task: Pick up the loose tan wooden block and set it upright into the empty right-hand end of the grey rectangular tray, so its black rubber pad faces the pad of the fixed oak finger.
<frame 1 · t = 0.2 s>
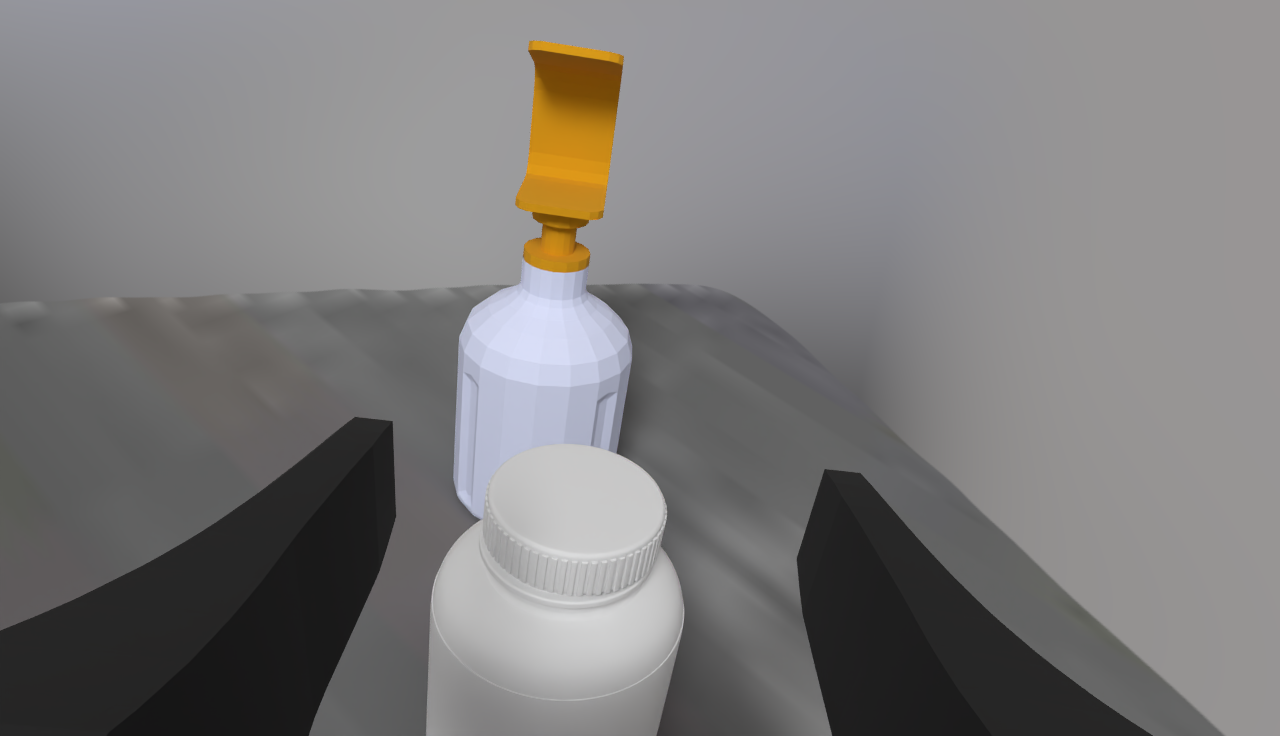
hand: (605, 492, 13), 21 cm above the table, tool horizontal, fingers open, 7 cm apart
soap bottle: (532, 489, 47), on the table
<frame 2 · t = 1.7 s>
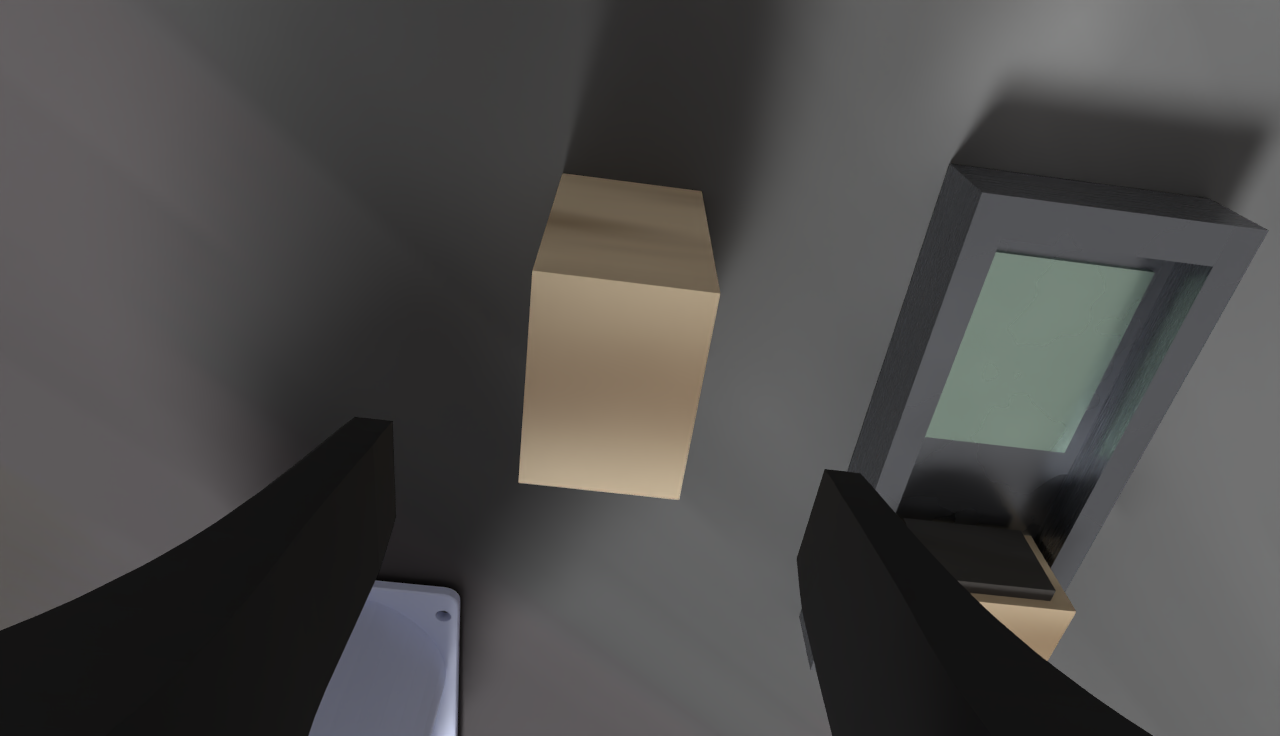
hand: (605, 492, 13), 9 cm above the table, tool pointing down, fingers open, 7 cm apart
tan wooden block: (620, 273, 21), on the table
grey rectangular tray: (971, 441, 24), on the table
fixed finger: (971, 441, 24), resting on grey rectangular tray
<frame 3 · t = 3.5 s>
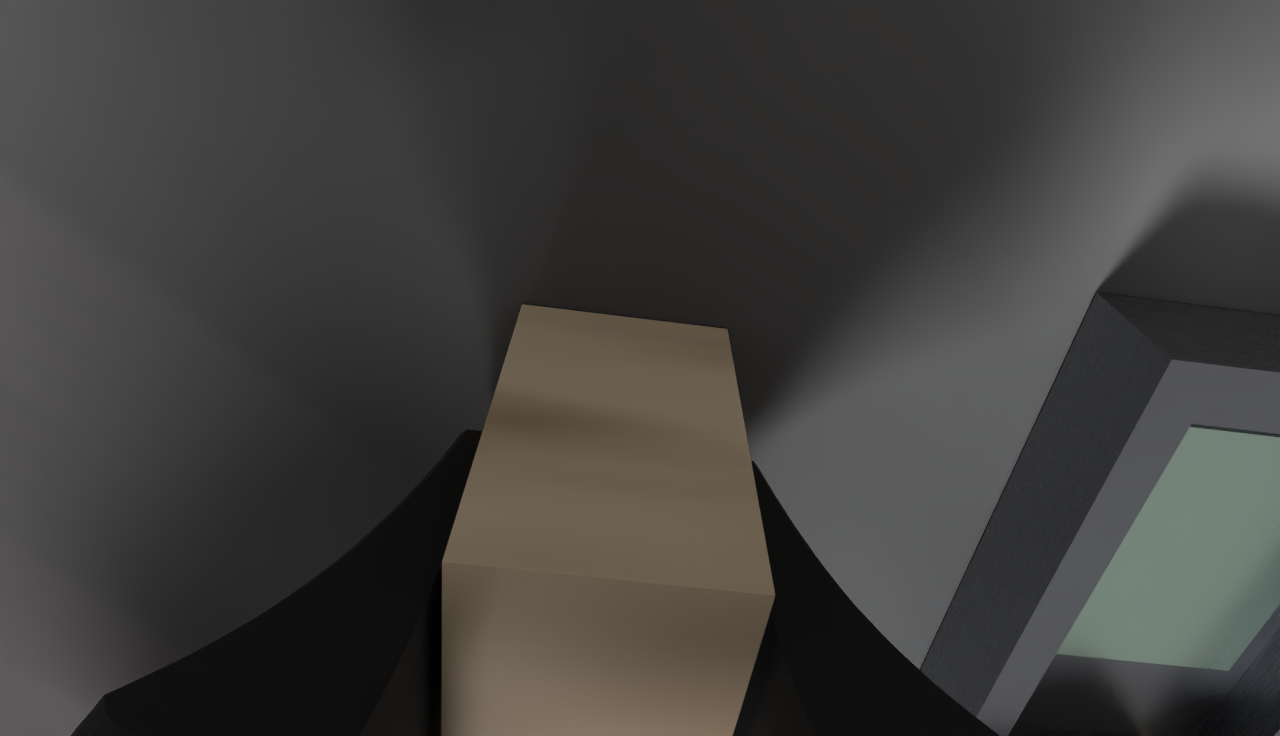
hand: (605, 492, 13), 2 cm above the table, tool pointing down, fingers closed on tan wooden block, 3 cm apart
tan wooden block: (609, 436, 15), on the table, touching gripper
grey rectangular tray: (1089, 640, 17), on the table
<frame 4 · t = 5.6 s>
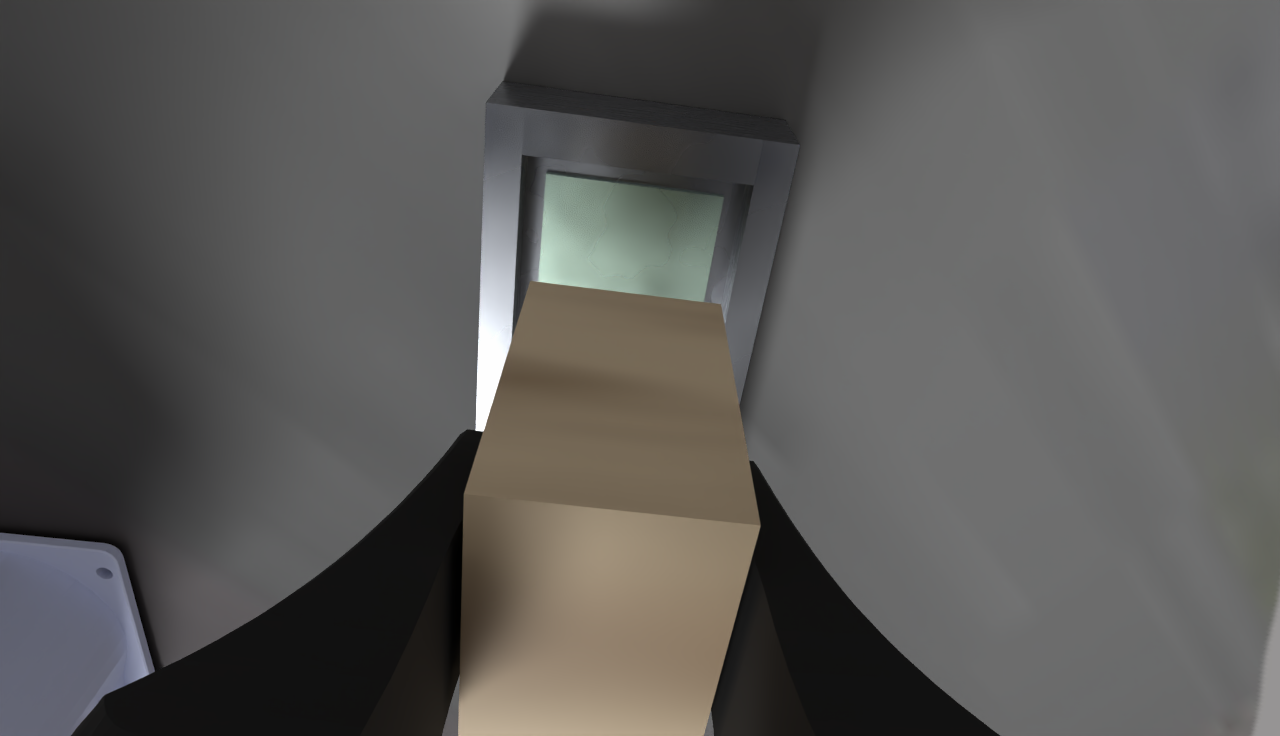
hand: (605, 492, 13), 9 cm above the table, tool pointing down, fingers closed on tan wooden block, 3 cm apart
tan wooden block: (611, 406, 16), point 6 cm above the table, touching gripper
grey rectangular tray: (608, 386, 23), on the table
when the fingers open (3 cm above the table, at t = 7.7 s): tan wooden block stays where it is, resting on grey rectangular tray.
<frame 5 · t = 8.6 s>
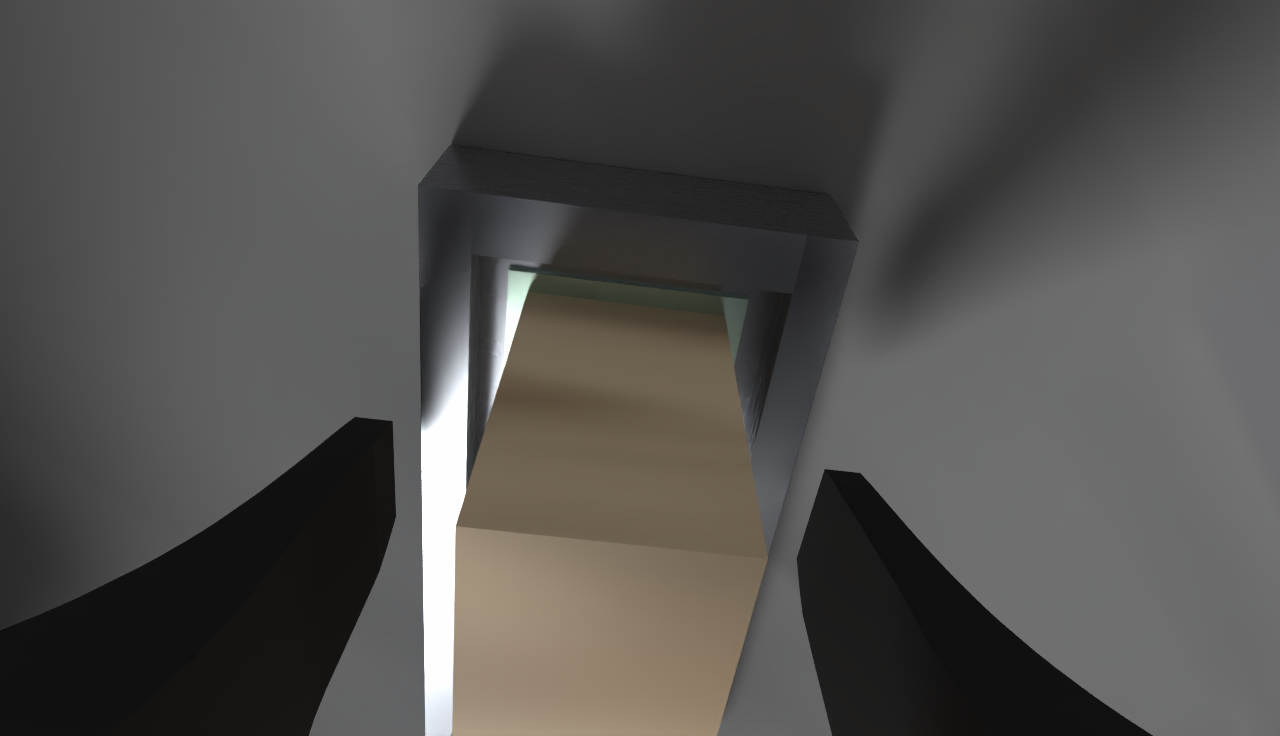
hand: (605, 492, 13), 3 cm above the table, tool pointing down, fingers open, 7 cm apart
tan wooden block: (611, 420, 15), point 1 cm above the table, touching grey rectangular tray
grey rectangular tray: (596, 516, 18), on the table
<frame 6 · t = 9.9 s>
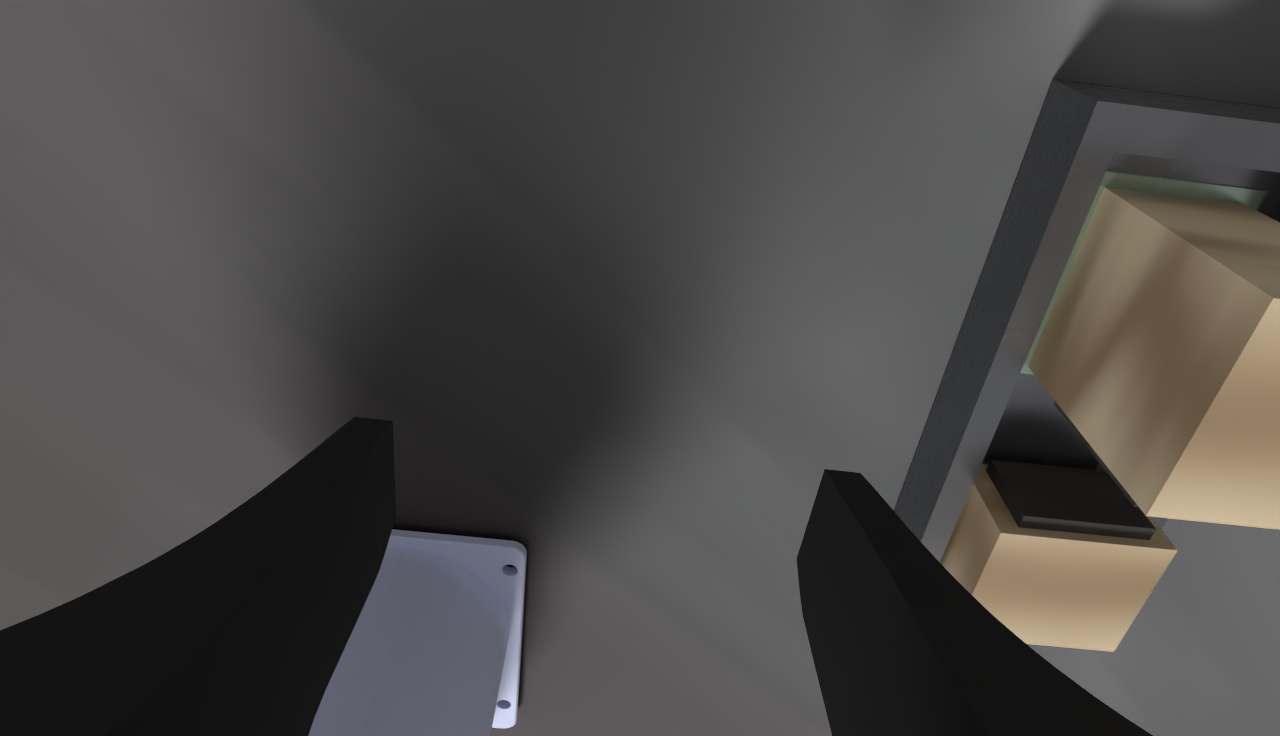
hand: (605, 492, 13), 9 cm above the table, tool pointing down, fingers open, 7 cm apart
tan wooden block: (1130, 290, 20), point 1 cm above the table, touching grey rectangular tray
grey rectangular tray: (1059, 380, 23), on the table
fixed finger: (1059, 380, 23), resting on grey rectangular tray
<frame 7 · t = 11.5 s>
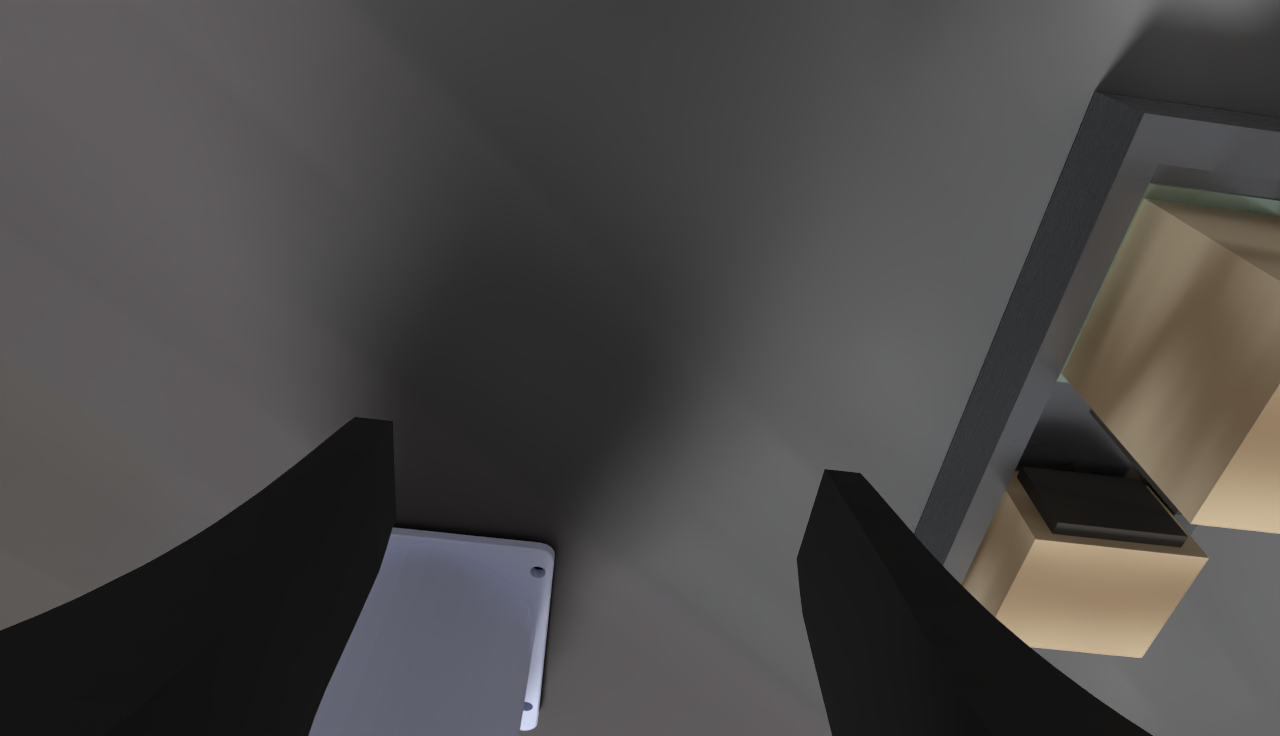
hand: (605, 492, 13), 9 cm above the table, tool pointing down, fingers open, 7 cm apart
tan wooden block: (1165, 300, 21), point 1 cm above the table, touching grey rectangular tray
grey rectangular tray: (1090, 388, 23), on the table
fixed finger: (1090, 388, 23), resting on grey rectangular tray
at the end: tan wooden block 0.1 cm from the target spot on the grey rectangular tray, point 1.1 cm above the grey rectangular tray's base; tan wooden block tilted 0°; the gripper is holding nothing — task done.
